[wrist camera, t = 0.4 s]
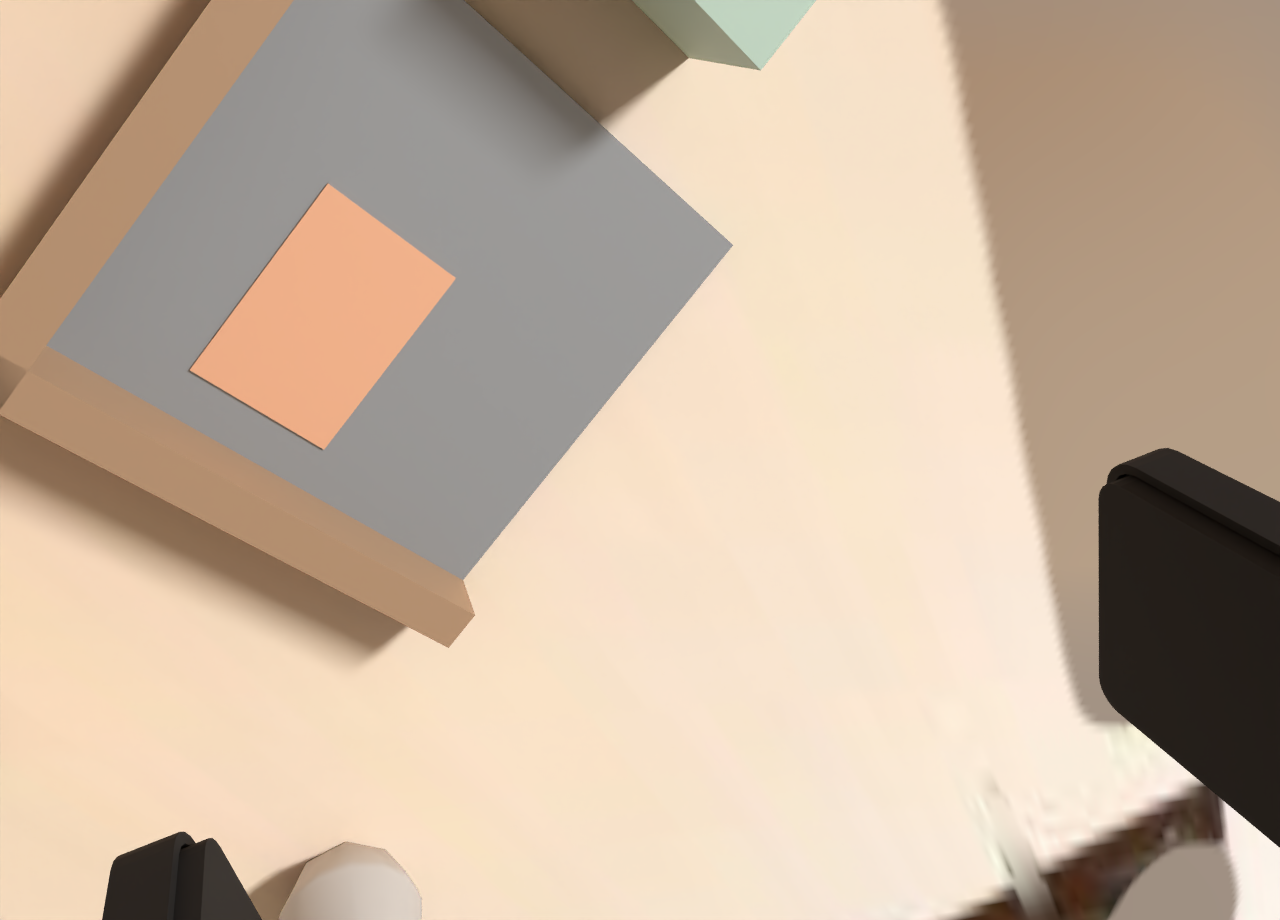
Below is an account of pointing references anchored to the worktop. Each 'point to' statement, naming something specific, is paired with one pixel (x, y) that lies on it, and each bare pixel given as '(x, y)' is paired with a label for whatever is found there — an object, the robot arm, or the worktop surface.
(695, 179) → the worktop surface
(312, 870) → the salt shaker
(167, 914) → the robot arm
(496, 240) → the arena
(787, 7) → the green block
